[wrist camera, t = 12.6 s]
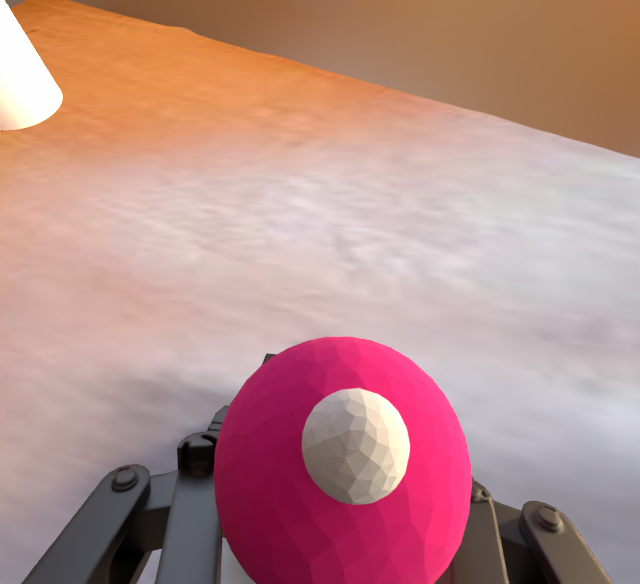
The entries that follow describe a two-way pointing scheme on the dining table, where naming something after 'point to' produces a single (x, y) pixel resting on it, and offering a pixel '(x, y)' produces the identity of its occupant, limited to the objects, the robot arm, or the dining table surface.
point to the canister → (23, 78)
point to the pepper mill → (342, 469)
